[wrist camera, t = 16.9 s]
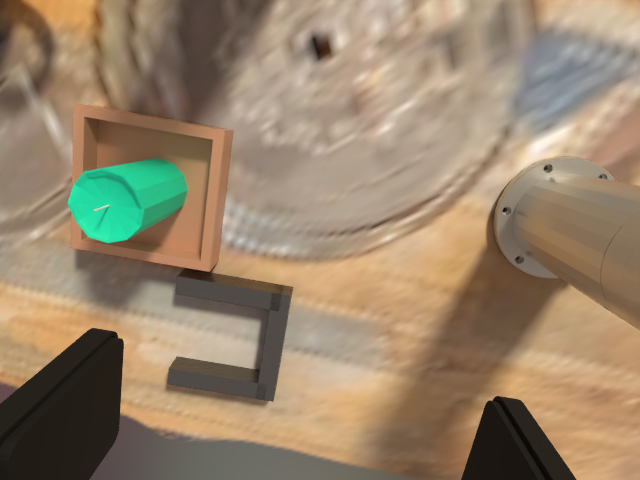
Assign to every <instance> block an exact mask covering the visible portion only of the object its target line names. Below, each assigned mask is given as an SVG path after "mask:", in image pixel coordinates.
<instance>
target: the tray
mask: <svg viewBox="0 0 640 480" xmlns="http://www.w3.org/2000/svg"><path fill="white" fill-rule="evenodd" d="M232 138H233V130H229V129H223V128H218V127H212V126H207V125H201V124H196V123H190V122H184V121H179V120H173V119H168V118H162V117H157V116H151V115H145V114H140V113H134V112H129V111H123V110H118V109H112V108H106V107H101V106H95V105H85V104H74V112H73V166H72V188H73V185H74V183H75V182H76V181H77V180H78V178H79V177H80V176H81V175H82V174H83V172H85V171H90V170H95V169H100V168H105V167H111V166H116V165H122V164H127V163H133V162H138V161H144V160H150V159H155V158H159V159H162V160H165V161H168V162H171V163H173V164H174V165H175V166H176V167H177V168H178V169H179V170H180V172H181V173H182V174H183V175H184V178H185V181H186V185H187V189H188V192H187V195H186V199H185V203H184V205H183V206H182V207H181V208H180V209H178V210H177V211H176V212H175V213H174V214H173V215H171V216H169V217H167V218H165V219H164V220H162V221H160V222H158V223H156V224H155V225H153V226H151V227H149V228H147V229H146V230H144V231H142V232H140V233H138V234H136V235H135V236H133V237H131V238H129V239H127V240H123V241H118V242H113V243H106V242H102V241H99V240H96V239H92V238H89V237H88V236H87V235H86V234H85V232H84V231H83V230H82V229H81V227H80V226H79V225H78V224H77V222H76V221H75V219H74V216H73V214H72V219H71V248H74V249H80V250H85V251H91V252H97V253H103V254H109V255H115V256H120V257H126V258H132V259H138V260H144V261H149V262H155V263H161V264H167V265H173V266H179V267H184V268H190V269H196V270H202V271H208V272H210V270H211V269H212V268H213V267H214V266H215V264H216V263H217V262H218V259H219V251H220V242H221V233H222V225H223V216H224V207H225V199H226V190H227V182H228V173H229V164H230V156H231V147H232Z"/></svg>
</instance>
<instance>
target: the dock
mask: <svg viewBox="0 0 640 480" xmlns="http://www.w3.org/2000/svg"><path fill="white" fill-rule="evenodd" d="M292 291H293V287H290V286H284V285H278V284H273V283H267V282H261V281H255V280H249V279H244V278H238V277H232V276H226V275H220V274H214V273H209V272H203V271H197V270H191V269H184V270H183V271H182V272H181V273H180V274H179V275H178V276H177V284H176V294H179V295H185V296H191V297H197V298H202V299H208V300H214V301H220V302H226V303H232V304H238V305H243V306H249V307H255V308H261V309H267V310H269V316H268V323H267V329H266V336H265V342H264V349H263V355H262V361H261V368H260V370H254V369H248V368H242V367H236V366H230V365H224V364H218V363H213V362H207V361H201V360H195V359H189V358H183V357H176V359H175V360H174V362H173V363H172V365H171V366H170V368H169V373H168V384H171V385H177V386H183V387H189V388H195V389H201V390H207V391H213V392H219V393H225V394H231V395H237V396H243V397H249V398H255V399H261V400H267V401H274V396H275V391H276V386H277V380H278V374H279V368H280V362H281V356H282V350H283V344H284V338H285V332H286V326H287V320H288V314H289V308H290V302H291V297H292Z"/></svg>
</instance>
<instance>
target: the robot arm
mask: <svg viewBox="0 0 640 480" xmlns="http://www.w3.org/2000/svg"><path fill="white" fill-rule="evenodd" d="M545 166H546V169H545V170H544V167H545ZM598 177H599V178H598ZM503 208H506V210H505V211H503ZM493 223H494V235H495V238H496V242H497V245H498V247H499V248H500V250H501V252H502V254H503V255H504V256H505V257H506V259H507V260H508V261H509V262H510V263H512V264H513V265H514V266H515V267H517V268H518V269H520V270H521V271H523V272H525V273H527V274H530V275H532V276H535V277H541V278H561V279H562V280H564V281H565V282H567V283H568V284H570V285H571V286H573V287H574V288H576V289H577V290H579V291H580V292H582V293H583V294H585V295H586V296H588V297H589V298H591V299H592V300H594V301H595V302H597V303H598V304H600V305H601V306H603V307H604V308H606V309H607V310H609V311H610V312H612V313H614V314H615V315H617V316H618V317H620V318H621V319H623V320H625V321H626V322H628V323H629V324H631V325H632V326H634V327H635V328H637V329H639V330H640V186H637V185H632V184H626V183H621V182H616V181H615V180H614V178H613V177H612V176H611V174H610V173H609V172H607V171H606V170H605V169H604V168H603V167H602V166H600V165H598V164H596V163H594V162H592V161H589V160H586V159H582V158H578V157H570V156H568V157H553V158H548V159H544V160H542V161H539V162H537V163H534V164H532V165H531V166H529V167H527V168H526V169H524V170H522V171H521V172H520V173H519V174H518V175H517V176H516V177H514V178H513V179H512V180H511V182H510V183H509V184H508V185H507V187H506V188H505V189H504V191H503V193H502V195H501V196H500V198H499V200H498V203H497V206H496V209H495V214H494V222H493ZM516 257H518V258H517V259H516ZM123 349H124V342H123V340H122V339H120V338H118V335H117V333H116V332H114V331H108V330H102V329H96V328H91V329H90V330H88V331H87V332H86V333H85V334H83V335H82V336H81V337H80V338H79V339H77V340H76V341H75V342H74V343H73V344H71V345H70V346H69V347H68V348H67V349H66V350H64V351H63V352H62V353H61V354H60V355H58V356H57V357H56V358H55V359H54V360H52V361H51V362H50V363H49V364H48V365H47V366H45V367H44V368H43V369H42V370H41V371H39V372H38V373H37V374H36V375H35V376H33V377H32V378H31V379H30V380H28V381H27V382H26V383H25V384H24V385H22V386H21V387H20V388H19V389H18V390H16V391H15V392H14V393H13V394H12V395H10V396H9V397H8V398H7V399H6V400H4V401H3V402H2V403H1V404H0V480H89V479H90V477H91V476H92V475H93V473H94V472H95V470H96V469H97V467H98V466H99V464H100V463H101V462H102V460H103V459H104V457H105V456H106V454H107V453H108V451H109V450H110V448H111V447H112V446H113V444H114V442H115V440H116V437H117V435H118V431H119V419H120V402H121V384H122V366H123ZM461 480H576V478H575V477H574V475H573V474H572V472H571V471H570V469H569V468H568V467H567V465H566V464H565V462H564V461H563V459H562V458H561V457H560V455H559V454H558V452H557V451H556V449H555V448H554V447H553V445H552V444H551V442H550V441H549V439H548V438H547V436H546V435H545V434H544V432H543V431H542V429H541V428H540V426H539V425H538V424H537V422H536V421H535V419H534V418H533V416H532V415H531V413H530V412H529V411H528V409H527V408H526V406H525V405H524V403H523V402H522V401H521V400H518V399H512V398H506V397H500V396H497V397H495V398H494V399H493V401H488V402H487V403H486V405H485V408H484V411H483V414H482V417H481V420H480V423H479V427H478V430H477V433H476V436H475V439H474V442H473V445H472V448H471V451H470V454H469V457H468V461H467V464H466V467H465V470H464V473H463V476H462V479H461Z"/></svg>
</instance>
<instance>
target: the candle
mask: <svg viewBox="0 0 640 480" xmlns="http://www.w3.org/2000/svg"><path fill="white" fill-rule="evenodd" d="M187 192H188V189H187V185H186V181H185V178H184V175H183V174H182V173H181V172H180V170H179V169H178V168H177V167H176V166H175V165H174V164H173V163H171V162H168V161H165V160H162V159H159V158H155V159H150V160H144V161H138V162H133V163H127V164H122V165H116V166H111V167H105V168H100V169H95V170H90V171H85V172H83V174H82V175H81V176H80V177H79V178H78V180H77V181H76V182H75V183H74V185H73V188H72V191H71V194H70V197H69V200H68V206H69V208H70V210H71V212H72V214H73V216H74V219H75V221H76V222H77V224H78V225H79V226H80V227H81V229H82V230H83V231H84V232H85V234H86V235H87V236H88V237H89V238H92V239H96V240H99V241H102V242H106V243H113V242H118V241H123V240H127V239H129V238H131V237H133V236H135V235H136V234H138V233H140V232H142V231H144V230H146V229H147V228H149V227H151V226H153V225H155V224H156V223H158V222H160V221H162V220H164V219H165V218H167V217H169V216H171V215H173V214H174V213H175V212H176V211H177V210H178V209H180V208H181V207H182V206H183V205H184V203H185V199H186V195H187Z"/></svg>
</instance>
